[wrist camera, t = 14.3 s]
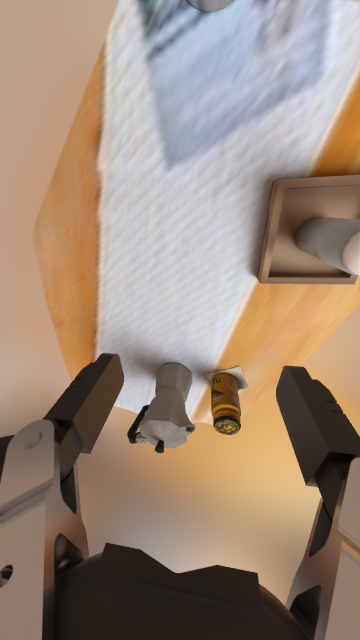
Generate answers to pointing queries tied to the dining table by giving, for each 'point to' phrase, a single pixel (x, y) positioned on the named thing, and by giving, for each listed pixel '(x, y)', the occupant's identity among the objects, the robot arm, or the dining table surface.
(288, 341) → the dining table surface
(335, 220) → the salt shaker
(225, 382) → the condiment
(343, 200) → the tray
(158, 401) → the coffeepot
